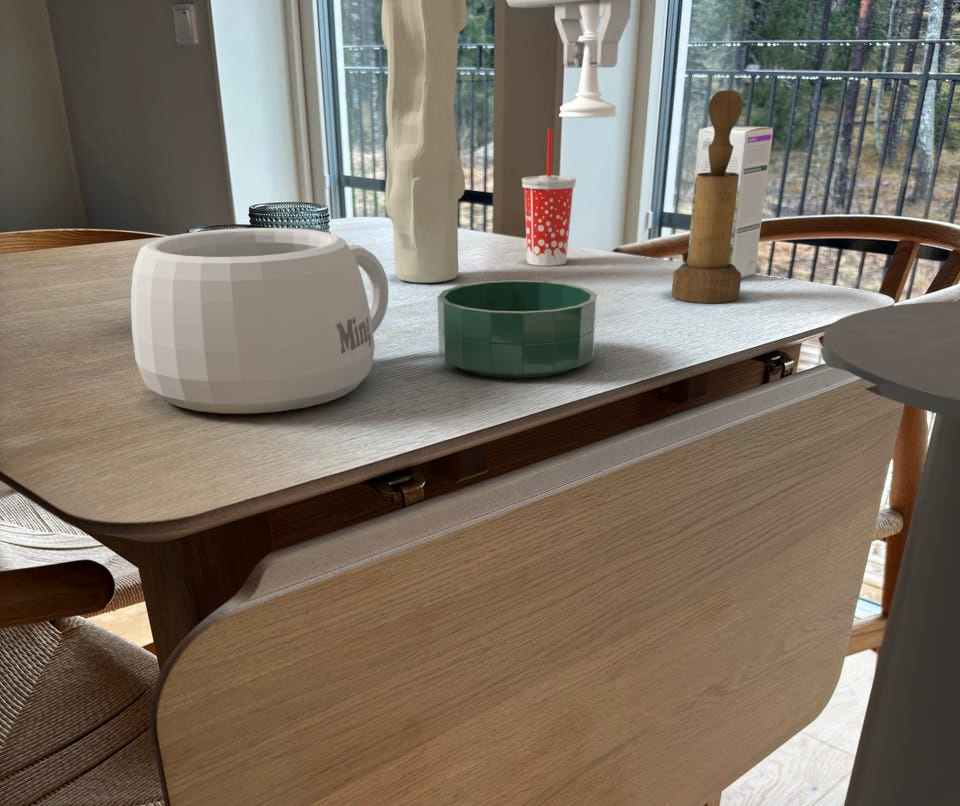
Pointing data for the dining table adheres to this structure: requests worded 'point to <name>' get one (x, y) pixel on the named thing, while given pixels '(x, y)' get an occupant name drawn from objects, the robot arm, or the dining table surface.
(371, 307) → the mug
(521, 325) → the green round bowl
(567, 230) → the beverage cup
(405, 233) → the vase
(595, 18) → the chess piece
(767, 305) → the dining table surface
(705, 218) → the mortar and pestle
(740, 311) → the dining table surface
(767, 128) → the syrup box
